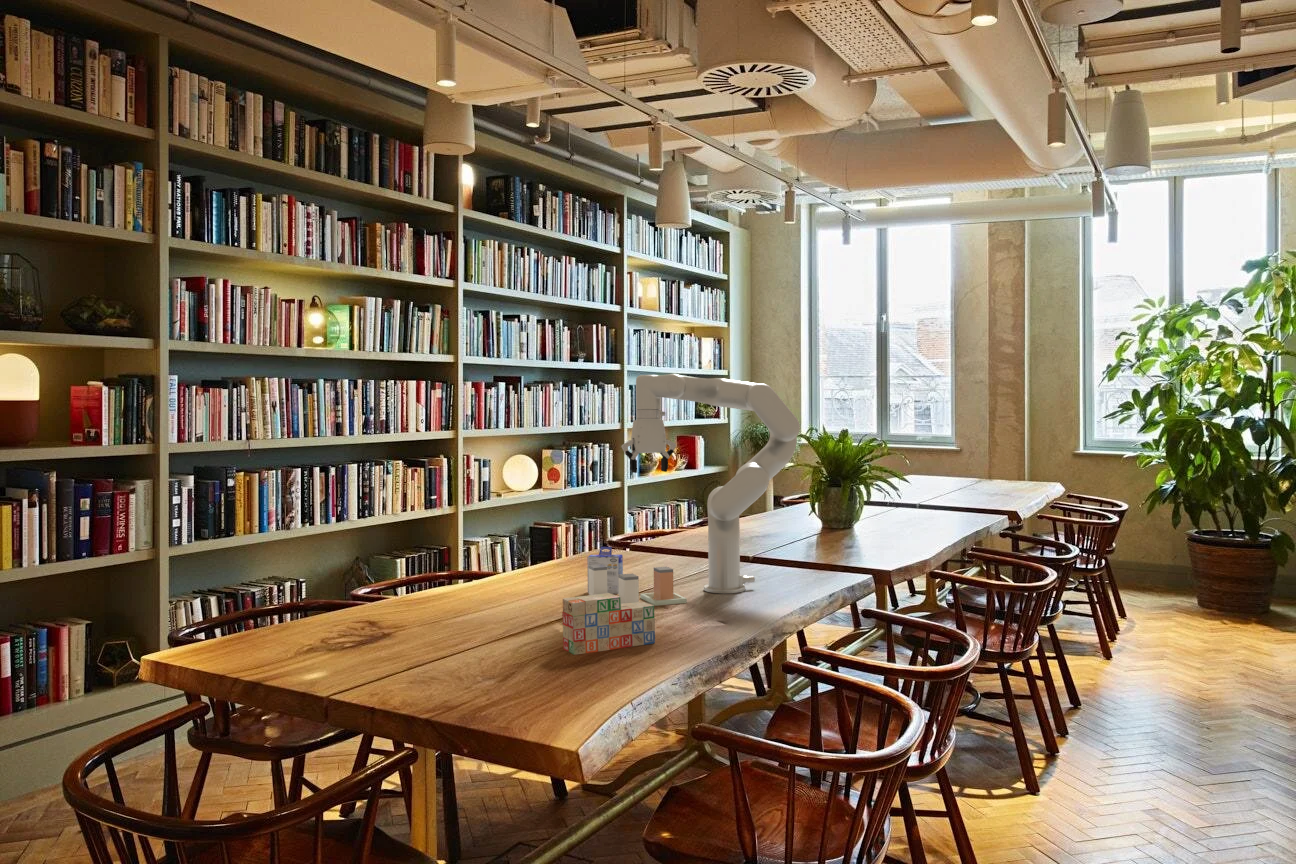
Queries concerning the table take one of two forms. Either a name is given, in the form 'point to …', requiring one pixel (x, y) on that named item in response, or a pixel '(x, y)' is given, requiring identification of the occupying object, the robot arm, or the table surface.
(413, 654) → the table surface
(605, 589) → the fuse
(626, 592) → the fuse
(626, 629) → the stack of blocks
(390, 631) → the table surface
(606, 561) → the ink cartridge box
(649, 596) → the tray
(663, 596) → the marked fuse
